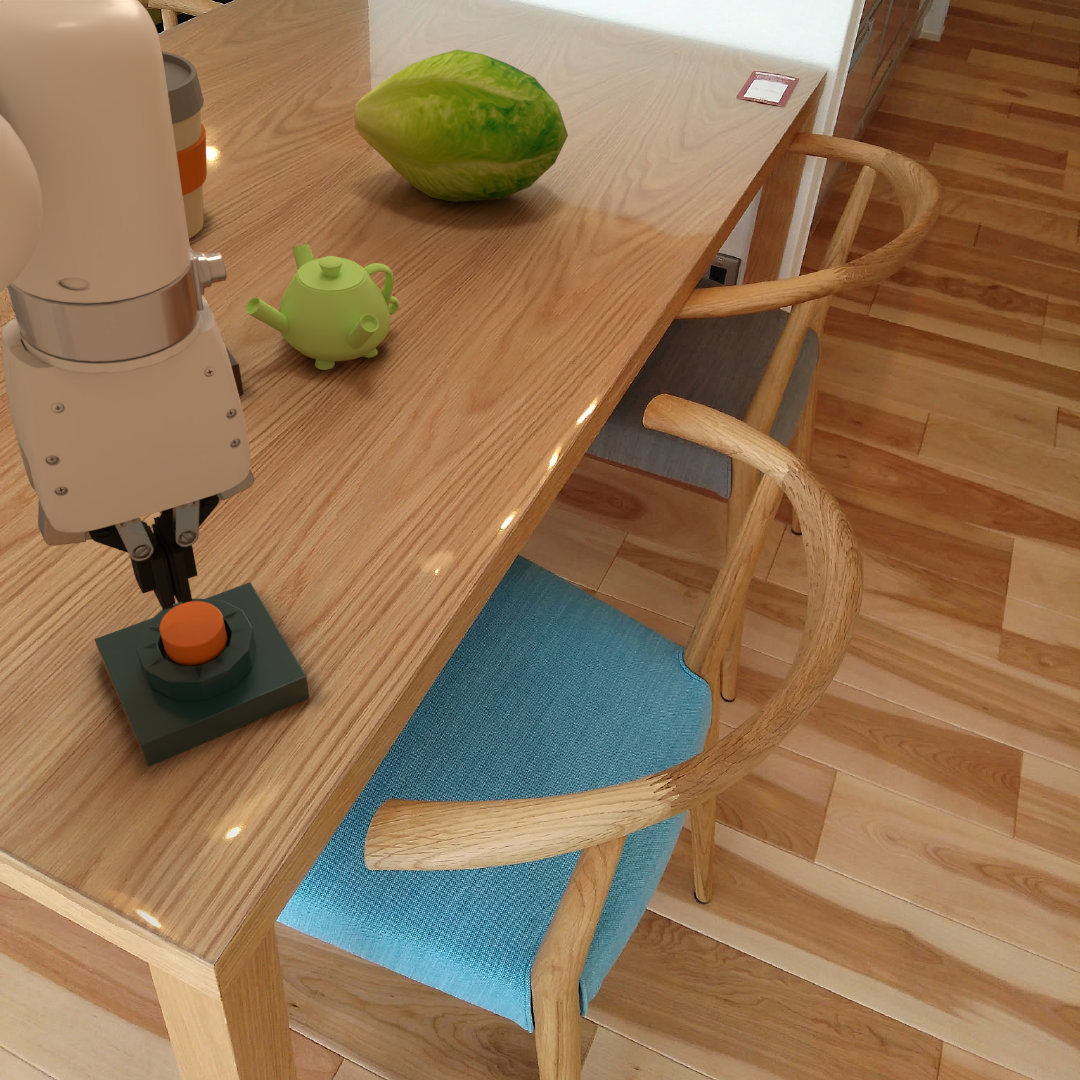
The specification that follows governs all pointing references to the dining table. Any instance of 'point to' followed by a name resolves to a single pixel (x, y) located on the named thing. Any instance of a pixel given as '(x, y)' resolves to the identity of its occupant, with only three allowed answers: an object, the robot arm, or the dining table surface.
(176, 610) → the orange push button
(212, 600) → the button housing
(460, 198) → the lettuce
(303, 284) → the teapot
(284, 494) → the dining table surface
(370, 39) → the dining table surface
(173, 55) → the reusable coffee cup
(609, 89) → the dining table surface
